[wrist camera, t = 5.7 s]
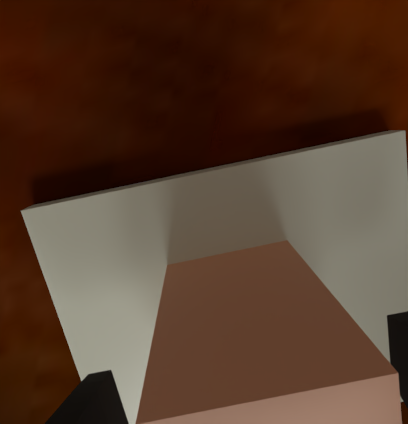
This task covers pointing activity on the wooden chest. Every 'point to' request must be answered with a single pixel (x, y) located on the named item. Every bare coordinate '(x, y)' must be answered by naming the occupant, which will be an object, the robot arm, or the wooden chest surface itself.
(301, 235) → the mat
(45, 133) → the wooden chest surface
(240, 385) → the block
